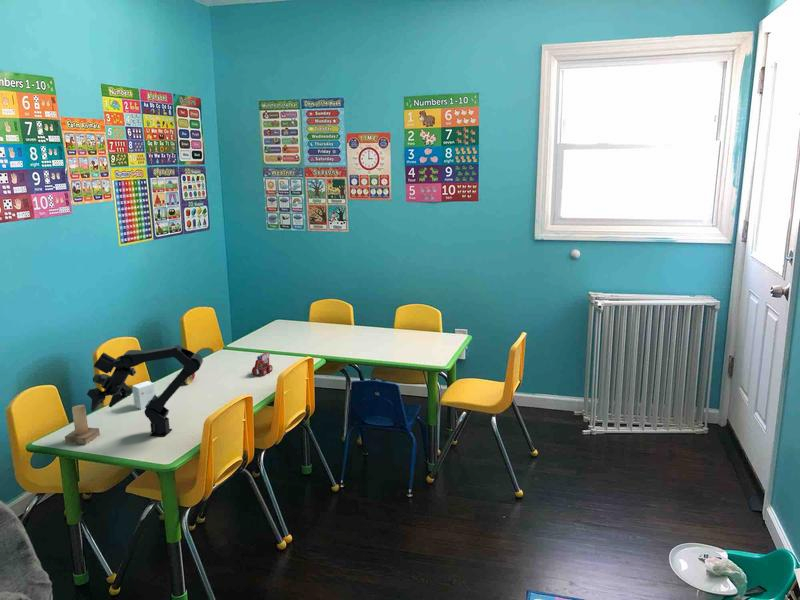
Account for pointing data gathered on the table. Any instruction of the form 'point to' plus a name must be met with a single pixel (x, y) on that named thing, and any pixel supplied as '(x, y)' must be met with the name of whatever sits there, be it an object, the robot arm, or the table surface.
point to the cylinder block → (80, 419)
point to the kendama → (189, 379)
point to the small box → (143, 393)
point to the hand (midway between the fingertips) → (100, 408)
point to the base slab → (82, 436)
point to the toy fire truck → (262, 365)
